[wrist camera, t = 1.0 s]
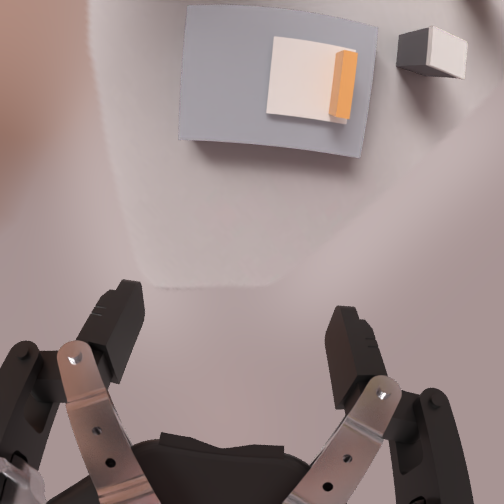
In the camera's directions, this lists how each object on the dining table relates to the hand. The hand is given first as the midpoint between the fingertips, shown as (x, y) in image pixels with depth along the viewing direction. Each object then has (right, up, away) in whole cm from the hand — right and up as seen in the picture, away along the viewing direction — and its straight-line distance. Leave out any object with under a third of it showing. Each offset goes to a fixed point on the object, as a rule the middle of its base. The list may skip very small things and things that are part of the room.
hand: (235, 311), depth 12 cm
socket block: (+3, +21, +16) cm, 26 cm away
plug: (+19, +24, +13) cm, 33 cm away
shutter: (+6, +18, +12) cm, 23 cm away
